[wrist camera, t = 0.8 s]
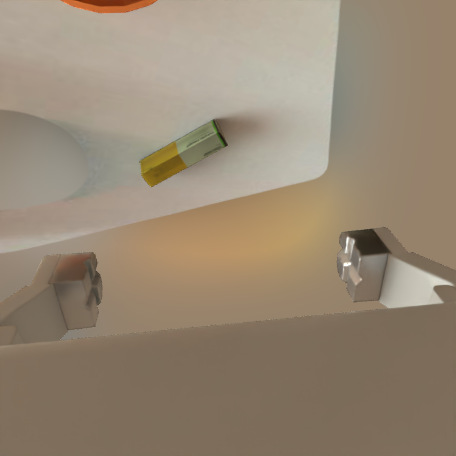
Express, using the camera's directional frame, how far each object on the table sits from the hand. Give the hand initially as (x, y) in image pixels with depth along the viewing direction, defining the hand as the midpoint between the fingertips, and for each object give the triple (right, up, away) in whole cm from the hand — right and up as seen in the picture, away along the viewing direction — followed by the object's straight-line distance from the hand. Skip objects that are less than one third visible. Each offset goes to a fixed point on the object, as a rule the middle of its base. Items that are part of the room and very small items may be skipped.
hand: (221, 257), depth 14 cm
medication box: (-6, +13, +45) cm, 47 cm away
